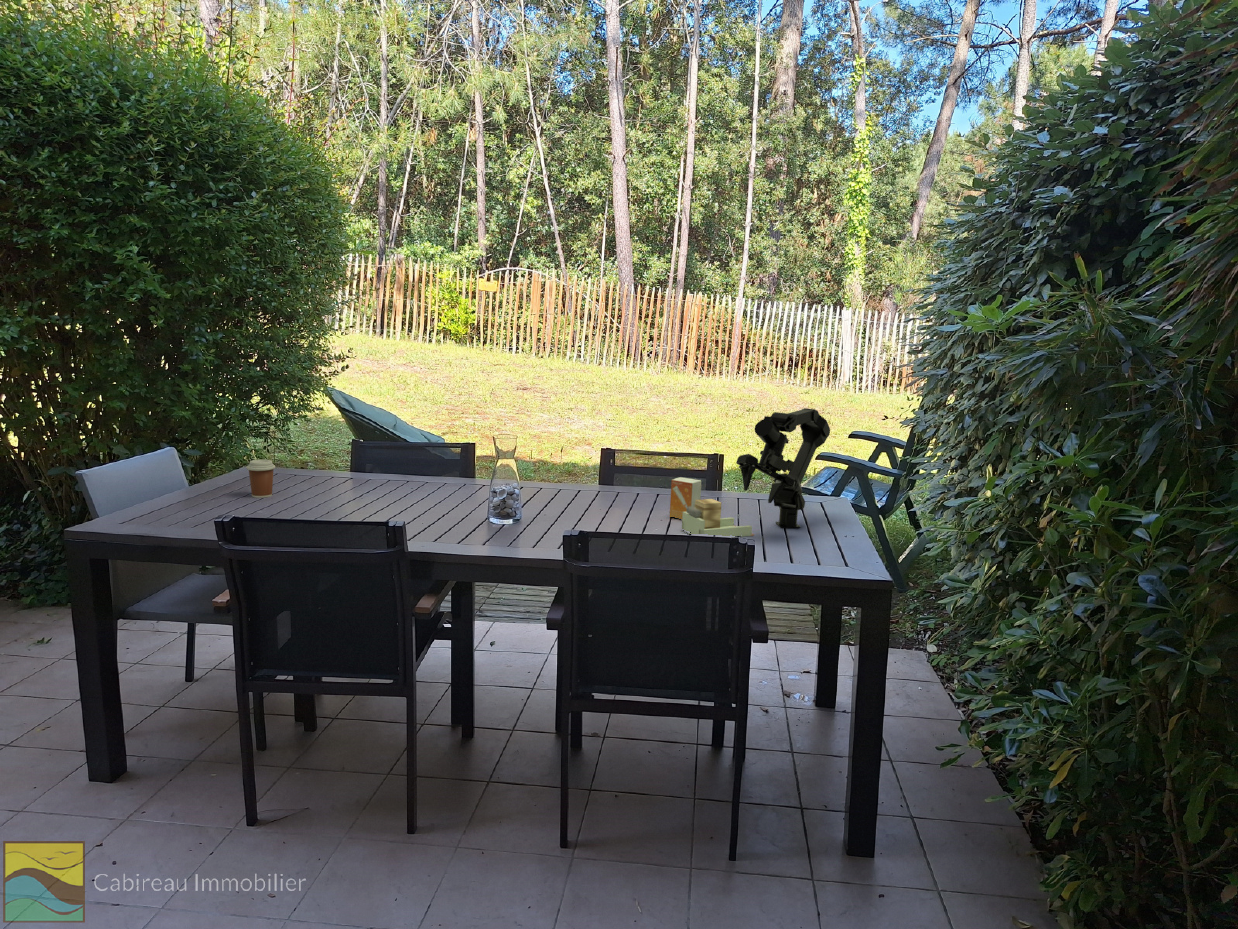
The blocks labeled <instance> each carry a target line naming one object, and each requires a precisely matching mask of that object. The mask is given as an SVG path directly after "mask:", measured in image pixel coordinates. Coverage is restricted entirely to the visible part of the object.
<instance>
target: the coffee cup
mask: <svg viewBox="0 0 1238 929" xmlns="http://www.w3.org/2000/svg"><path fill="white" fill-rule="evenodd" d="M275 469H276V465H275V464H274V463H273V461H272V460H271V459H260V458H259V459H253V460H250V461H249V464H248V465H247V466H246V470H247V471H248V475H249V483H250V484H249V485H250V489H251V490H250V492H251V497H252V498H257V499H259V498H260V499H265V498H270V497H272V496H273V487H274V486H273V484H274V470H275Z"/></svg>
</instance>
